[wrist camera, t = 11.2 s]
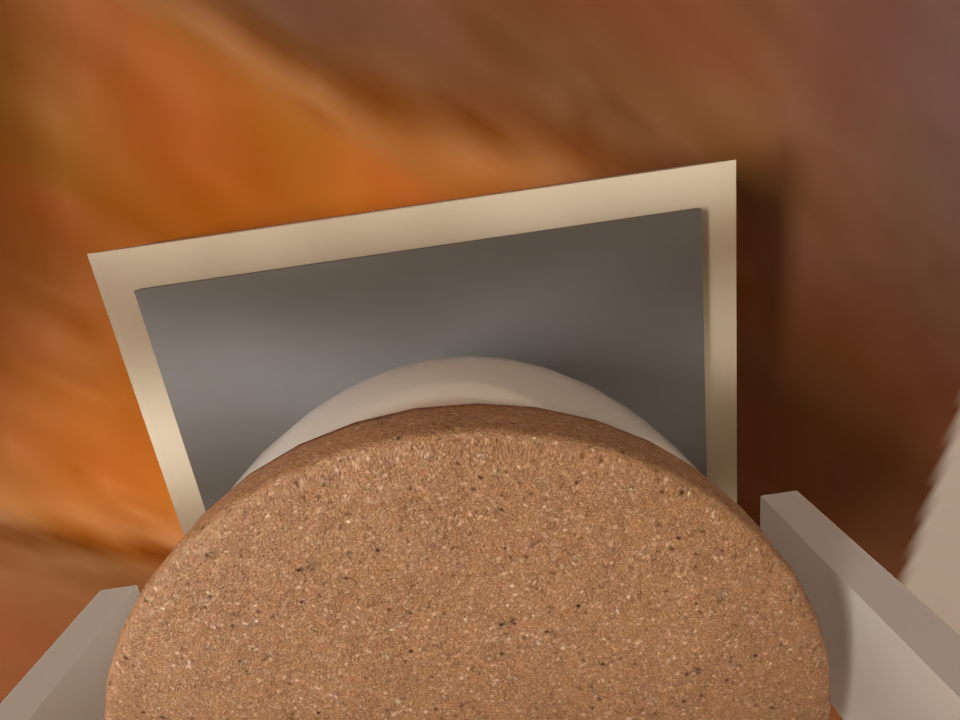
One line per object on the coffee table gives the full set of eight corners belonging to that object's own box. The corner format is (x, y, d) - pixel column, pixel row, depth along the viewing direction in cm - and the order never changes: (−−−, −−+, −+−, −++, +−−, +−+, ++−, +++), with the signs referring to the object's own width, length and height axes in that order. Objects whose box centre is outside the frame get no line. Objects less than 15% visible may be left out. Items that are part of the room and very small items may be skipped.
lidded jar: (721, 374, 15) (1125, 657, 6) (576, 679, 18) (697, 1183, 9) (324, 247, 13) (61, 361, 4) (236, 600, 16) (-32, 1099, 7)
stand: (151, 243, 16) (79, 255, 13) (687, 165, 16) (742, 159, 13) (282, 667, 21) (251, 750, 18) (699, 607, 21) (742, 681, 18)
